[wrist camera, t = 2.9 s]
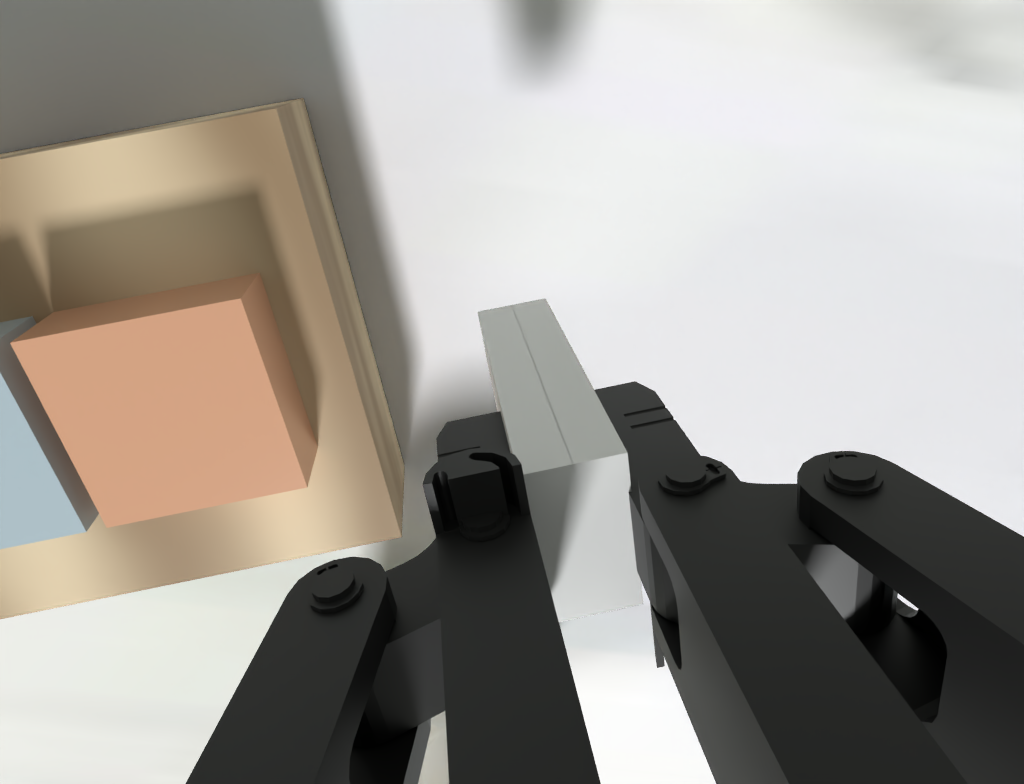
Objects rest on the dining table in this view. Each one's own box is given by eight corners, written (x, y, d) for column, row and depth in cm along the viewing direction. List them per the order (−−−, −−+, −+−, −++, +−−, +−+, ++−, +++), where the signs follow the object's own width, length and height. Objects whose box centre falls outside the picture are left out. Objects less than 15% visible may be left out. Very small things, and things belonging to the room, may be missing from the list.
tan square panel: (303, 98, 19) (275, 108, 16) (404, 466, 25) (401, 537, 21) (-180, 186, 19) (-321, 219, 15) (29, 541, 24) (-39, 627, 21)
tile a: (259, 272, 17) (240, 298, 15) (318, 447, 19) (307, 487, 18) (53, 312, 17) (10, 342, 15) (136, 483, 19) (106, 528, 17)
